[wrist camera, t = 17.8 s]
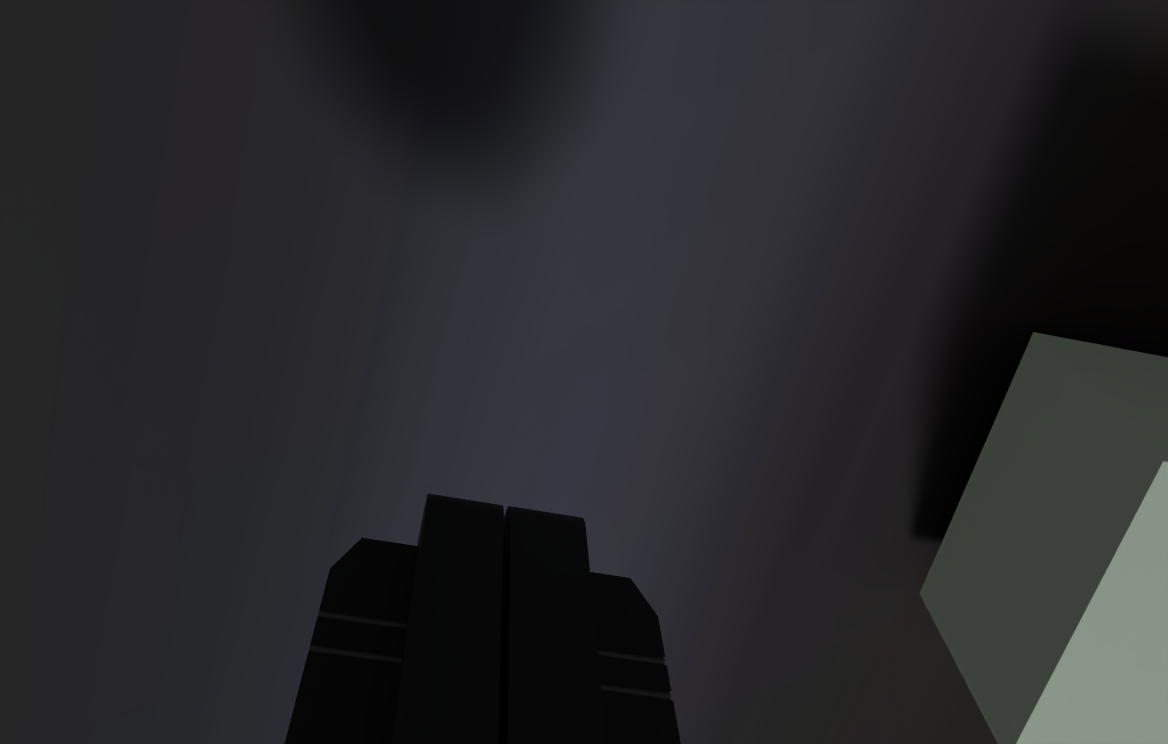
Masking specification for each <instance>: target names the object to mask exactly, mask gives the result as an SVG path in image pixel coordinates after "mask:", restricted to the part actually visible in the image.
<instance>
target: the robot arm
mask: <svg viewBox="0 0 1168 744" xmlns="http://www.w3.org/2000/svg"><path fill="white" fill-rule="evenodd" d="M664 661H665V653H664V648H663V642H662V636H661V631H660V625H659V620H658V616H657V614H656V613H655V612H654V610H653V609H652V607H651V606H650V605H649V603H648V602H647V601H646V599H645V598H644V596H643V595H642V594H641V592H640V591H639V589H638V588H637V587H636V585H635V584H634V583H633V581H632V580H631V578H626V577H619V576H613V575H606V574H600V573H593V572H590V567H589V557H588V547H587V536H586V526H585V521H584V519H583V518H581V517H574V516H568V515H562V514H555V513H549V512H543V511H537V510H530V509H524V508H518V507H511V506H508V508H507V510H506V513H505V516H504V509H503V505H497V504H491V503H484V502H478V501H472V500H465V499H459V498H453V497H447V496H440V495H434V494H428V495H427V499H426V503H425V508H424V513H423V519H422V524H421V529H420V534H419V540H418V545H417V546H413V545H406V544H400V543H393V542H386V541H380V540H373V539H367V538H361V539H360V540H359V541H358V542H357V543H356V544H355V545H354V546H353V547H352V548H351V549H350V550H349V551H348V552H347V553H346V554H345V555H344V556H343V557H342V558H341V559H340V560H338V561H337V562H336V563H335V564H334V565H333V566H332V567H331V568H330V571H329V575H328V579H327V583H326V586H325V590H324V594H323V598H322V602H321V606H320V610H319V615H318V617H317V621H316V625H315V629H314V633H313V636H312V640H311V645H310V650H309V652H308V656H307V660H306V663H305V667H304V671H303V675H302V679H301V683H300V686H299V690H298V694H297V698H296V702H295V706H294V710H293V713H292V717H291V721H290V725H289V729H288V733H287V737H286V740H285V744H681V742H680V737H679V731H678V726H677V720H676V715H675V709H674V703H673V701H672V700H670V697H671V687H670V681H669V675H668V670H667V666H666V665H664Z"/></svg>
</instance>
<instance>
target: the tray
mask: <svg viewBox="0 0 1168 744" xmlns="http://www.w3.org/2000/svg"><path fill="white" fill-rule="evenodd" d="M920 595H921V597H922V599H923V601H924V603H925V605H926V607H927V609H928V610H929V612H930V614H931V616H932V618H933V620H934V622H935V624H936V626H937V628H938V630H939V632H940V634H941V635H942V637H943V639H944V641H945V643H946V645H947V647H948V649H949V651H950V653H951V655H952V657H953V658H954V660H955V662H956V664H957V666H958V668H959V670H960V672H961V674H962V676H963V678H964V680H965V682H966V683H967V685H968V687H969V689H970V691H971V693H972V695H973V697H974V699H975V701H976V703H977V705H978V707H979V708H980V710H981V712H982V714H983V716H984V718H985V720H986V722H987V724H988V726H989V728H990V730H991V732H992V733H993V735H994V737H995V739H996V741H997V743H998V744H1168V357H1163V356H1158V355H1152V354H1147V353H1142V352H1136V351H1131V350H1126V349H1120V348H1115V347H1110V346H1104V345H1099V344H1094V343H1088V342H1083V341H1078V340H1072V339H1067V338H1062V337H1056V336H1051V335H1046V334H1040V333H1035V332H1033V334H1032V336H1031V339H1030V341H1029V343H1028V346H1027V348H1026V350H1025V352H1024V355H1023V357H1022V359H1021V362H1020V364H1019V366H1018V368H1017V371H1016V373H1015V375H1014V378H1013V380H1012V382H1011V385H1010V387H1009V389H1008V391H1007V394H1006V396H1005V398H1004V401H1003V403H1002V405H1001V408H1000V410H999V412H998V414H997V417H996V419H995V421H994V424H993V426H992V428H991V431H990V433H989V435H988V437H987V440H986V442H985V444H984V447H983V449H982V451H981V454H980V456H979V458H978V460H977V463H976V465H975V467H974V470H973V472H972V474H971V477H970V479H969V481H968V483H967V486H966V488H965V490H964V493H963V495H962V497H961V500H960V502H959V504H958V506H957V509H956V511H955V513H954V516H953V518H952V520H951V522H950V525H949V527H948V529H947V532H946V534H945V536H944V539H943V541H942V543H941V545H940V548H939V550H938V552H937V555H936V557H935V559H934V562H933V564H932V566H931V568H930V571H929V573H928V575H927V578H926V580H925V582H924V585H923V587H922V589H921V591H920Z"/></svg>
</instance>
